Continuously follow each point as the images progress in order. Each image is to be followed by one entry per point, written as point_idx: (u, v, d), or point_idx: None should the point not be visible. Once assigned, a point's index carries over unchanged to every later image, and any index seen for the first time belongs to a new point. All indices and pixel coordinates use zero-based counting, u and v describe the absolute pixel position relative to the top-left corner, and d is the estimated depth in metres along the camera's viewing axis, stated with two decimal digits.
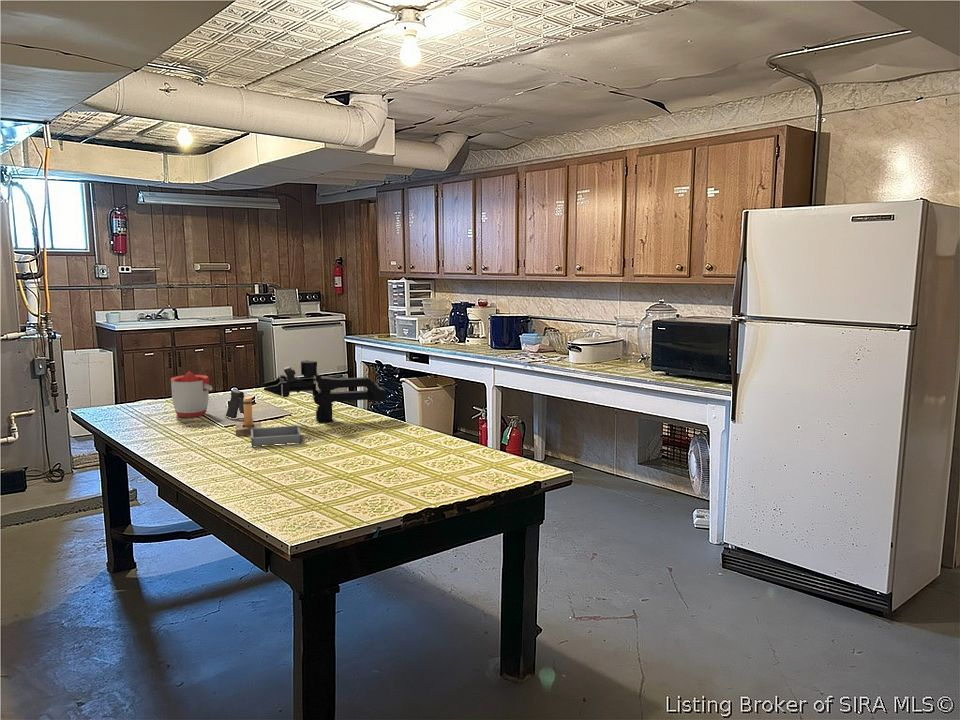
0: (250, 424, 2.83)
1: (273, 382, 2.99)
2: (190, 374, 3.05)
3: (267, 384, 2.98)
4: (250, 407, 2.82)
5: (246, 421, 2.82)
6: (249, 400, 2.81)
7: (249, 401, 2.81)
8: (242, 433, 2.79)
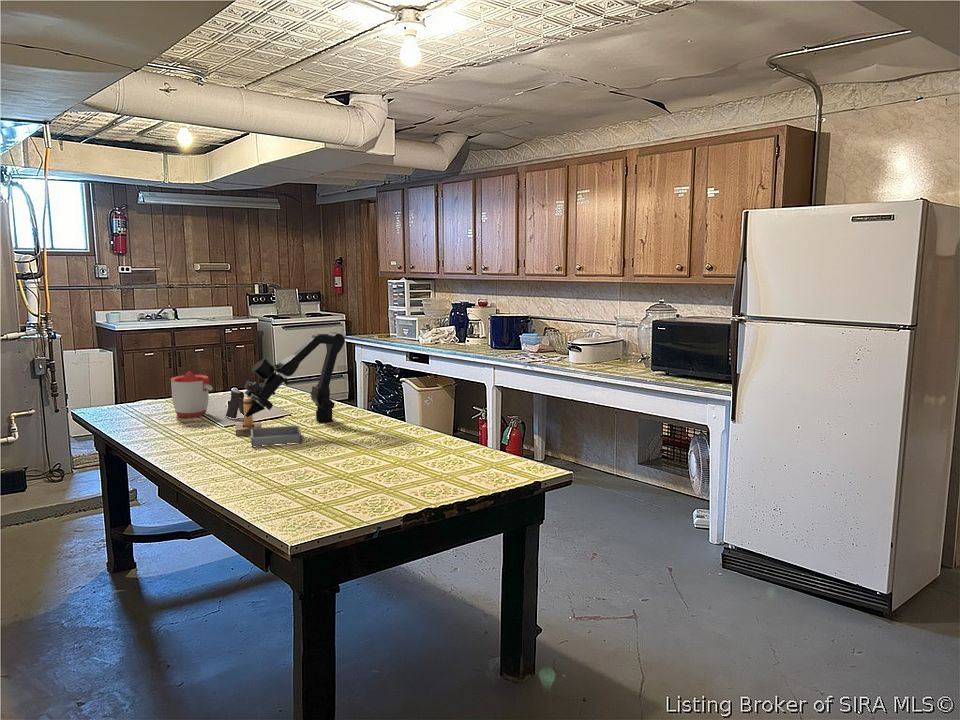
0: (250, 424, 2.83)
1: None
2: (190, 374, 3.05)
3: None
4: None
5: (246, 421, 2.82)
6: (249, 400, 2.81)
7: (249, 401, 2.81)
8: (242, 433, 2.79)
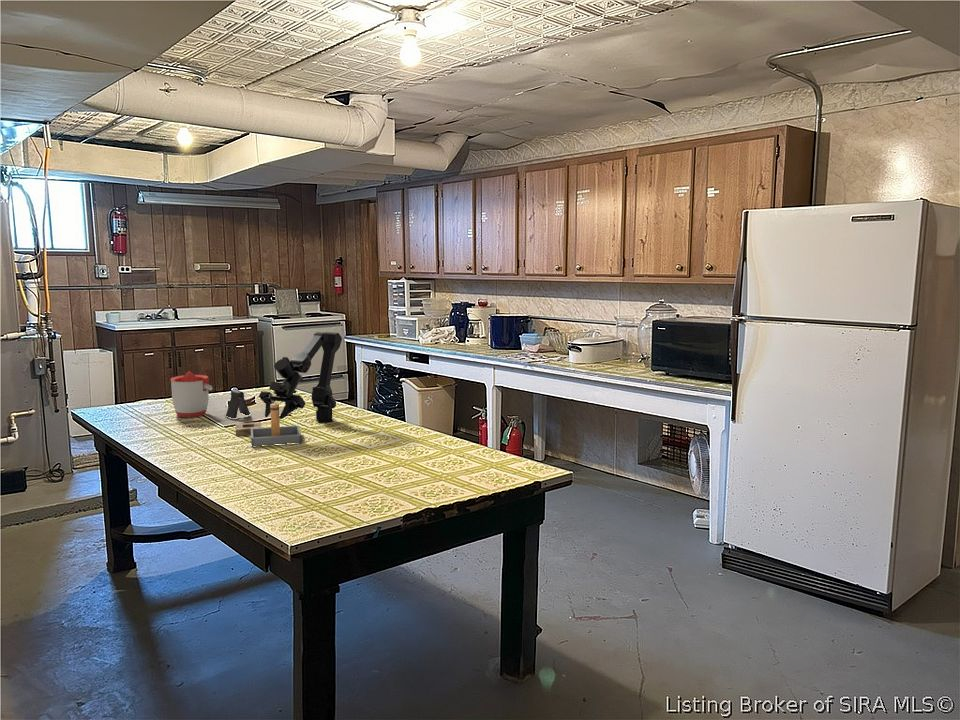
0: (279, 430, 2.72)
1: (269, 406, 2.73)
2: (190, 374, 3.05)
3: (267, 412, 2.72)
4: (278, 413, 2.71)
5: (276, 428, 2.70)
6: (278, 406, 2.70)
7: (278, 407, 2.70)
8: (242, 433, 2.79)
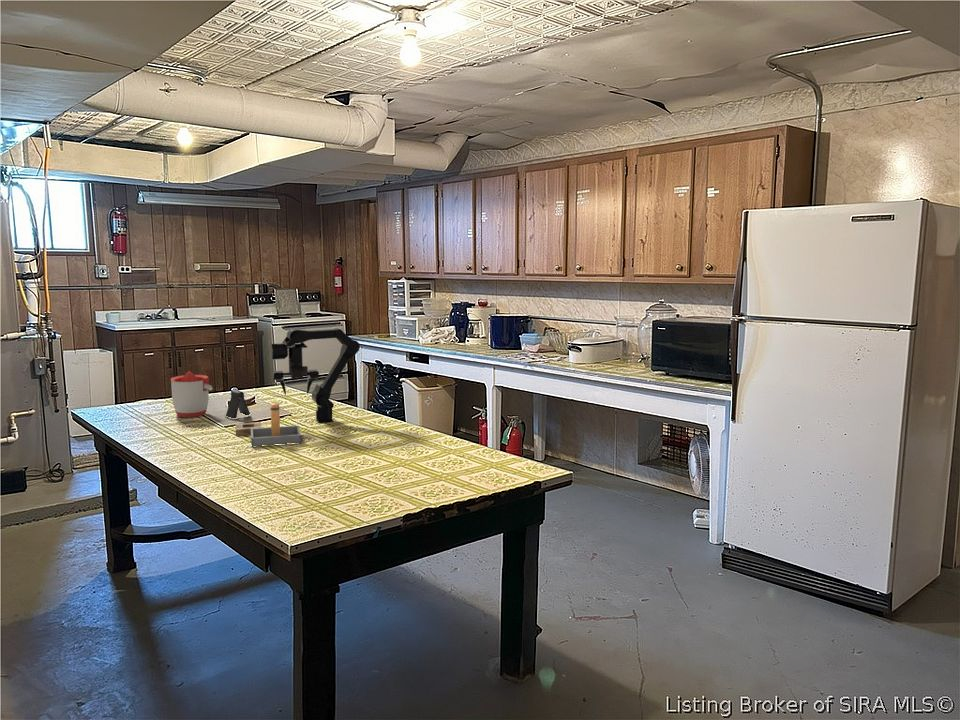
0: (279, 430, 2.72)
1: (284, 385, 2.93)
2: (190, 374, 3.05)
3: None
4: None
5: (276, 428, 2.70)
6: (278, 406, 2.70)
7: (278, 407, 2.70)
8: (242, 433, 2.79)
